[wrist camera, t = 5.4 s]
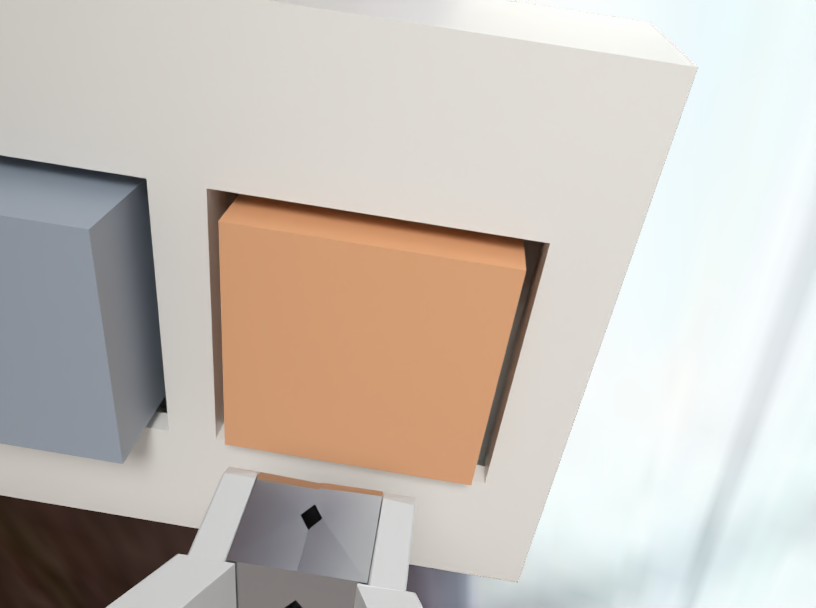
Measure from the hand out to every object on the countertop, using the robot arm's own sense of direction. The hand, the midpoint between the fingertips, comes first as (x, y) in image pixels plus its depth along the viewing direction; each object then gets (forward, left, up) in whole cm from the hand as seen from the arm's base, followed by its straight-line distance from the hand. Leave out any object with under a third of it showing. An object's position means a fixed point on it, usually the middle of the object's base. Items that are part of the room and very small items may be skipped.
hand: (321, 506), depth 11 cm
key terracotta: (+1, 0, -7) cm, 7 cm away
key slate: (+1, -8, -6) cm, 10 cm away
